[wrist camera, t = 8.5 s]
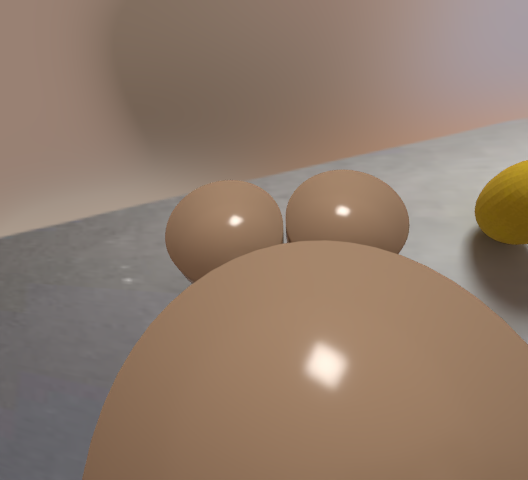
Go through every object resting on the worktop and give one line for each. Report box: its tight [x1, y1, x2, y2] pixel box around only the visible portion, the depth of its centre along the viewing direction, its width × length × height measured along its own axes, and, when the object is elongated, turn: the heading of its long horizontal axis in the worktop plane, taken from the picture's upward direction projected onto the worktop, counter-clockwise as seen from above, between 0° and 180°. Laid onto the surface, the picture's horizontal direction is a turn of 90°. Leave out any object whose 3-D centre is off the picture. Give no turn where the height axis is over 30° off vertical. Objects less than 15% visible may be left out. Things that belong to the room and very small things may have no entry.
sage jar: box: [286, 170, 409, 254], centre depth 19 cm, size 5×5×11 cm
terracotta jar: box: [165, 180, 284, 284], centre depth 19 cm, size 5×5×11 cm
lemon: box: [475, 160, 528, 245], centre depth 23 cm, size 6×6×8 cm
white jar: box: [82, 240, 528, 480], centre depth 8 cm, size 5×5×11 cm
